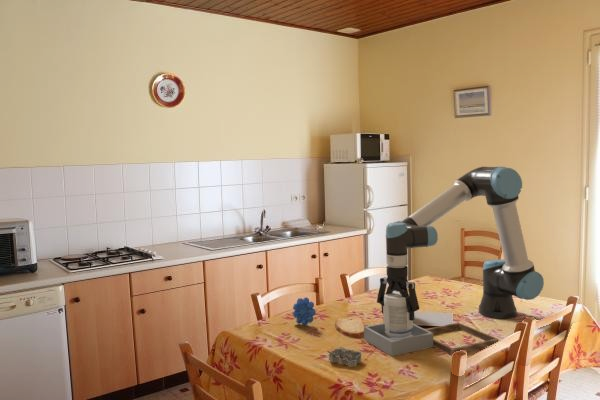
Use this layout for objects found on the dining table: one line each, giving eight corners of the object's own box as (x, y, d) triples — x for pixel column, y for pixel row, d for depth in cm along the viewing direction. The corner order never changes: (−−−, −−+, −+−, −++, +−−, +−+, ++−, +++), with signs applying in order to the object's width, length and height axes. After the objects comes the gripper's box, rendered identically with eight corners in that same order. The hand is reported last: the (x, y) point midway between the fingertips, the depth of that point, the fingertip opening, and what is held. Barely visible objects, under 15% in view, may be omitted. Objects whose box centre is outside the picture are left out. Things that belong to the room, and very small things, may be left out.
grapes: (322, 325, 210) (321, 296, 209) (312, 329, 205) (311, 300, 204) (300, 320, 218) (299, 292, 217) (289, 324, 212) (288, 296, 211)
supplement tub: (416, 334, 186) (416, 295, 185) (397, 340, 181) (397, 300, 180) (397, 327, 195) (397, 289, 193) (379, 333, 189) (378, 294, 188)
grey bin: (403, 331, 200) (403, 319, 200) (433, 346, 184) (433, 333, 183) (364, 339, 193) (363, 326, 192) (391, 356, 176) (391, 342, 176)
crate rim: (458, 327, 203) (458, 322, 203) (498, 344, 184) (498, 339, 184) (414, 336, 194) (414, 331, 194) (452, 355, 175) (452, 349, 175)
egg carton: (325, 362, 174) (325, 350, 173) (337, 355, 180) (337, 343, 179) (353, 369, 167) (352, 357, 167) (364, 361, 173) (364, 349, 173)
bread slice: (362, 340, 193) (361, 330, 193) (322, 332, 204) (321, 323, 203) (383, 326, 208) (383, 317, 207) (344, 319, 218) (344, 310, 218)
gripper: (366, 263, 191) (367, 321, 193) (417, 271, 175) (418, 335, 177) (378, 259, 196) (379, 316, 198) (429, 267, 180) (429, 329, 182)
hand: (397, 325), depth 188 cm, fingers closed on supplement tub, 10 cm apart
